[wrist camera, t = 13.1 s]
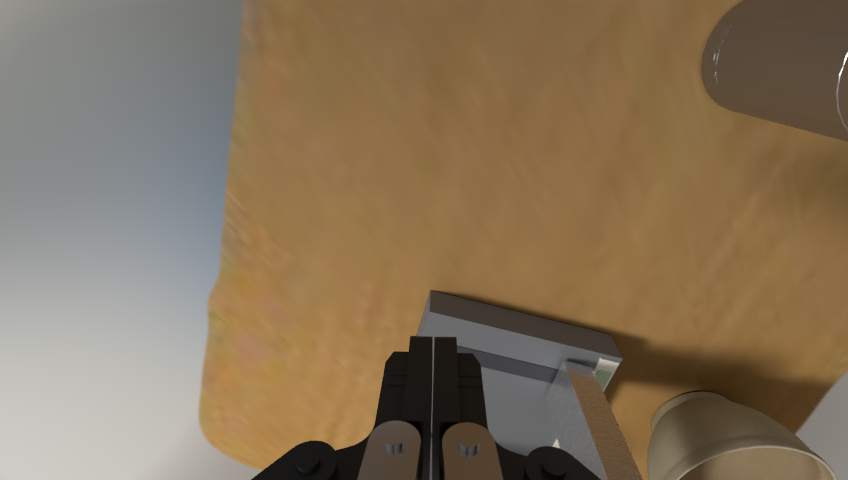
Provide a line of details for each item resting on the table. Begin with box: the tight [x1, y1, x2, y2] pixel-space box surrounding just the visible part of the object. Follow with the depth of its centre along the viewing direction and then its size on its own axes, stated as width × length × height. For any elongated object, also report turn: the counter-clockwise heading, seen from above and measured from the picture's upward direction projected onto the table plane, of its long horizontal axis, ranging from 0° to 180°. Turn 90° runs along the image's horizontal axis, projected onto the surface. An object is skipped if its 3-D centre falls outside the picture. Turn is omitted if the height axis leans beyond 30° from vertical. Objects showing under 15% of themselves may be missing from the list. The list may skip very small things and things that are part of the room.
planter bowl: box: [647, 392, 837, 480], centre depth 48 cm, size 16×16×11 cm
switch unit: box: [416, 290, 623, 456], centre depth 50 cm, size 20×22×4 cm
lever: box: [546, 361, 643, 480], centre depth 39 cm, size 4×6×16 cm, turn 165°
